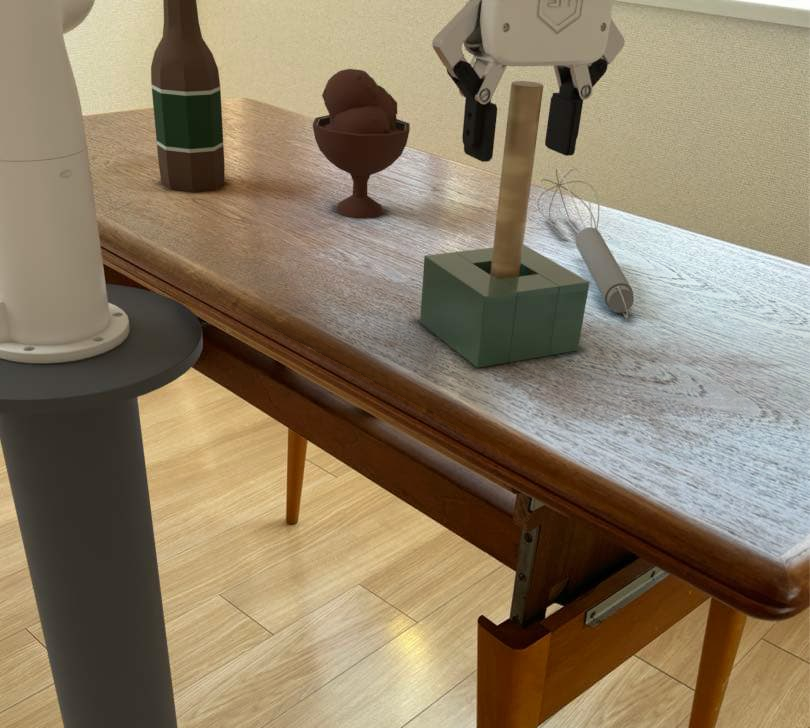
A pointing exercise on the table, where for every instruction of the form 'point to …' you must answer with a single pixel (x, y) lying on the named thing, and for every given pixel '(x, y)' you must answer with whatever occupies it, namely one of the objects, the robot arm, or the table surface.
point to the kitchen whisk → (597, 255)
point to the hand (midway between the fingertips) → (519, 152)
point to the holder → (502, 306)
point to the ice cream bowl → (359, 134)
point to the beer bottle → (187, 103)
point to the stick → (516, 178)
